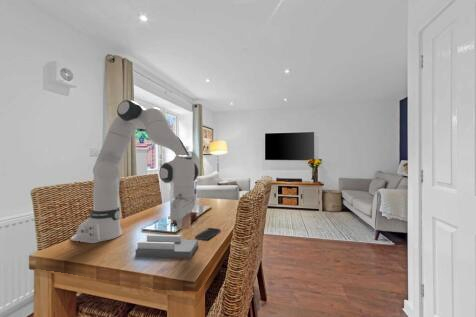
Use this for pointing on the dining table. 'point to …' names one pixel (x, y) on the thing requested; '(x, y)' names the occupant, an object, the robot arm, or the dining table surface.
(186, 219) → the block
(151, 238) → the channel
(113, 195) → the robot arm
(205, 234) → the phone
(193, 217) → the decorative book
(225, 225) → the dining table surface
